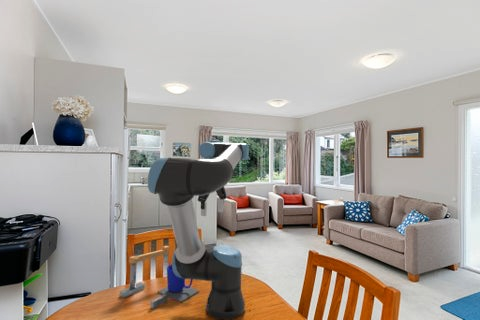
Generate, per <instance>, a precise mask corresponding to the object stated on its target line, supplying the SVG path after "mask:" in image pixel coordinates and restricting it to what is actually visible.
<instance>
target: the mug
mask: <svg viewBox="0 0 480 320" xmlns="http://www.w3.org/2000/svg"><path fill="white" fill-rule="evenodd" d="M166 277H167V278H166V280H167V283H166V284H167V287H168V290H169V291H170V292H173V293H176V292H180V291H182V290H183V288H184V287H185V288H189V287H191V286H192V284H193V280H194V279H190V282H189V285H186V284H185V283H186V282H185V281H186V279H184V278H180V277H177V276H176V275H175V274H174V272H173V269H172V264H169V265H168V266H167V267H166Z"/></svg>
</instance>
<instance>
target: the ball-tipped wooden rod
mask: <svg viewBox="0 0 480 320" xmlns="http://www.w3.org/2000/svg"><path fill="white" fill-rule="evenodd" d="M168 254H170V246H168V245H164V246H162V249H160V250H159V249H158V250H156V251H150V252H148V253H143V254H139V255H132V256H130V257H129V260H128V263H129V264H130V265H131V264H134V263H138V264H139V262H143V261H146V260H148V259H153V258H156V257H159V256H164V255H168Z"/></svg>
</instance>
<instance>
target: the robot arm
mask: <svg viewBox="0 0 480 320" xmlns="http://www.w3.org/2000/svg"><path fill="white" fill-rule="evenodd" d="M249 151H250V149H249V144H248V143H243V142H239V143H238V142H236V143H235V142H223V141H222V140H219V139H209V140H207V141H204V142H202V143H201V144H200V145H199V147H198V154H199V156H200V157H202V158H185V157H184V158H183V157H181V158H180V157H179V158H178V157H170V156H169V157H159V158H157V159H156V160H155V161H153V162H152V164H151V166H150V168H149V172H148V174H147V188H148V191H149V192H150V194H151V193H152V194H154V195H158V197H159V201H160V202H161V204H162V205H164V206H166V208H167V212H168V216H169V219H170V223H171V227H172V231H173V235H174V239H175V242H176V246H177V247H176V249H175V250H174V252H173V255H172V259H171V263H172V264H171V265H172V269H173V272H174V274H175V275H176V276H177V277H180V278H184V279H185V280H188V279H189V280H191V279H193V280H197V281H204V282H205V281H206V282H211V285H210V286H211V287H210V292H209V293H208V297H207V300H206V305H205V309H206V312H207V314H208V315H209V316H210V317H213V318H214V319H218V320H232V319H236V318H239V317H240V316H242V315H243V314H244V312H245V310H246V307H245V305H246V302H245V299H244V295H243V292H242V267H243V260H242V258H243V257H242V253H241V251H240V250H239V249H237V248H236V247H233V246H231V245H224V244H222V245H219V244H218V245H215V246H213V248H212V249H210V248H206V245H205V243H204V242H203V241H202V240H201V238H200V233H199V229H198V222H197V218H196V214H195V213H196V212H195V208H194V204H193V203H194V202H193V199H194V197H195V196H196V197H198V198H197V201H198V202H199V203H200V216H202V217H207V210H208V209H207V206H208V205H207V203H208V202H207V199H208V198H209V196H210V194H212V193H215V192H216V194H217V197H218V198H219V199H218V203H217V205H218V206H217V212H218V213H223V212H224V201H225V200H226V198H227V197H228V196H227V193H226V189H225V186H226V185H227V184H229V182H230V181H231V180H232V178H233V176H234V169H235V168H236V167H237V165H238V163H239V162H240V161H246V160H248V159H249V155H250V154H249Z"/></svg>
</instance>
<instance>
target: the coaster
mask: <svg viewBox="0 0 480 320" xmlns="http://www.w3.org/2000/svg"><path fill="white" fill-rule="evenodd" d="M199 292H200V290H198V289H196V288H193V287H191V286H190V287H189V288H185V287H184V288H183V290H182V291H180V292H176V293H173V292H170V291H169V290H168V286H166V287H164V288H161V289H160V290H158V291H157V294H160V295H161V296H162V295H164V294H166V295H167V298H169V299H171V300H173V301H175V302H179V303H181V304H182V303H183V302H185V301H186V300H188V299H190V298H191V297H193V296H195V295H197V294H199Z"/></svg>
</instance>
